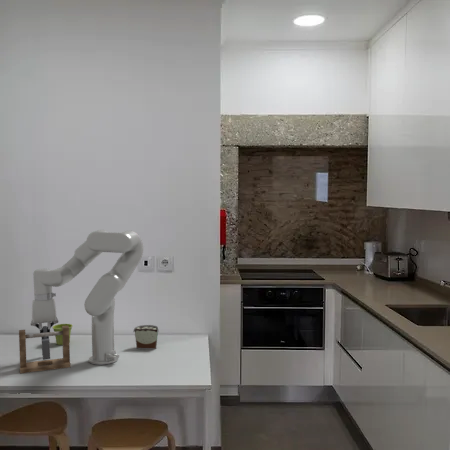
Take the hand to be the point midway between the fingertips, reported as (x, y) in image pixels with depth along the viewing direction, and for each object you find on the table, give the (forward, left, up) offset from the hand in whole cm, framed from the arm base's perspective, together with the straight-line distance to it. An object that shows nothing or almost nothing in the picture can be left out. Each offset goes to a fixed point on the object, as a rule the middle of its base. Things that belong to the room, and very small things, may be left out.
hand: (45, 337), depth 237 cm
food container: (-25, -39, -10) cm, 48 cm away
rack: (-9, +7, -10) cm, 15 cm away
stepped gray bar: (0, 0, -9) cm, 9 cm away
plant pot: (+13, -19, -10) cm, 26 cm away
